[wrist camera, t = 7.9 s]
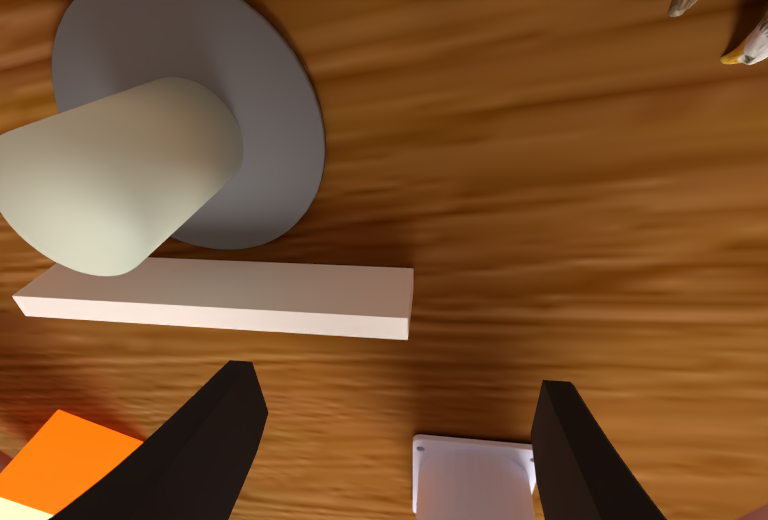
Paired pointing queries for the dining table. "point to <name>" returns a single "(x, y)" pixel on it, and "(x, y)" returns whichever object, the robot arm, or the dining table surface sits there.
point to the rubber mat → (225, 79)
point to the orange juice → (59, 466)
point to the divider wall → (233, 296)
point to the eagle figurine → (753, 48)
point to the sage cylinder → (117, 173)
